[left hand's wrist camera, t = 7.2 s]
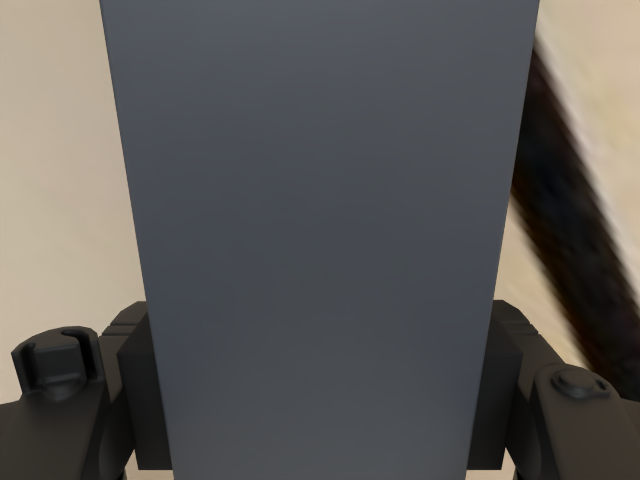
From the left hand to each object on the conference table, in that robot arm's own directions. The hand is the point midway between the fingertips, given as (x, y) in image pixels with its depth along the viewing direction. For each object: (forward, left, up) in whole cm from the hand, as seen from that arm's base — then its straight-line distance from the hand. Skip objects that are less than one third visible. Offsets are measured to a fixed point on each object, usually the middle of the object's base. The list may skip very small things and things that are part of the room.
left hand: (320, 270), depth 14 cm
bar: (-4, +37, -1) cm, 37 cm away
